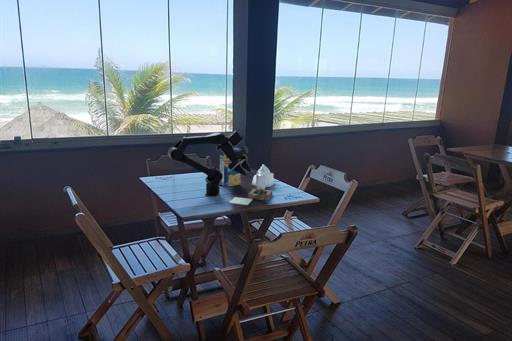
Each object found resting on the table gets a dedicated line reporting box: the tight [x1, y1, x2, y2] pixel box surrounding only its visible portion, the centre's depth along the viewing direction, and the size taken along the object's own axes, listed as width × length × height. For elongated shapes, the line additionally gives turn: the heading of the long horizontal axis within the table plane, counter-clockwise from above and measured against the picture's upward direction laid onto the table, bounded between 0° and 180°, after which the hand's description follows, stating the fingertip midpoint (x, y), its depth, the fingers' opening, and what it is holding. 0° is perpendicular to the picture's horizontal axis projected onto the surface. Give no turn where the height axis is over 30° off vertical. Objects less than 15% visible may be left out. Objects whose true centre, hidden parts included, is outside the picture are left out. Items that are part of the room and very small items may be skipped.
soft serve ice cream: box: [251, 164, 274, 188], centre depth 228 cm, size 12×15×14 cm
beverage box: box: [219, 146, 241, 187], centre depth 227 cm, size 7×11×22 cm, turn 118°
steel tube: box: [255, 173, 266, 195], centre depth 204 cm, size 5×5×12 cm
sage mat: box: [228, 196, 254, 206], centre depth 196 cm, size 10×10×1 cm
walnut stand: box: [247, 188, 273, 201], centre depth 205 cm, size 11×11×2 cm
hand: (248, 173), depth 204 cm, fingers open, 9 cm apart
